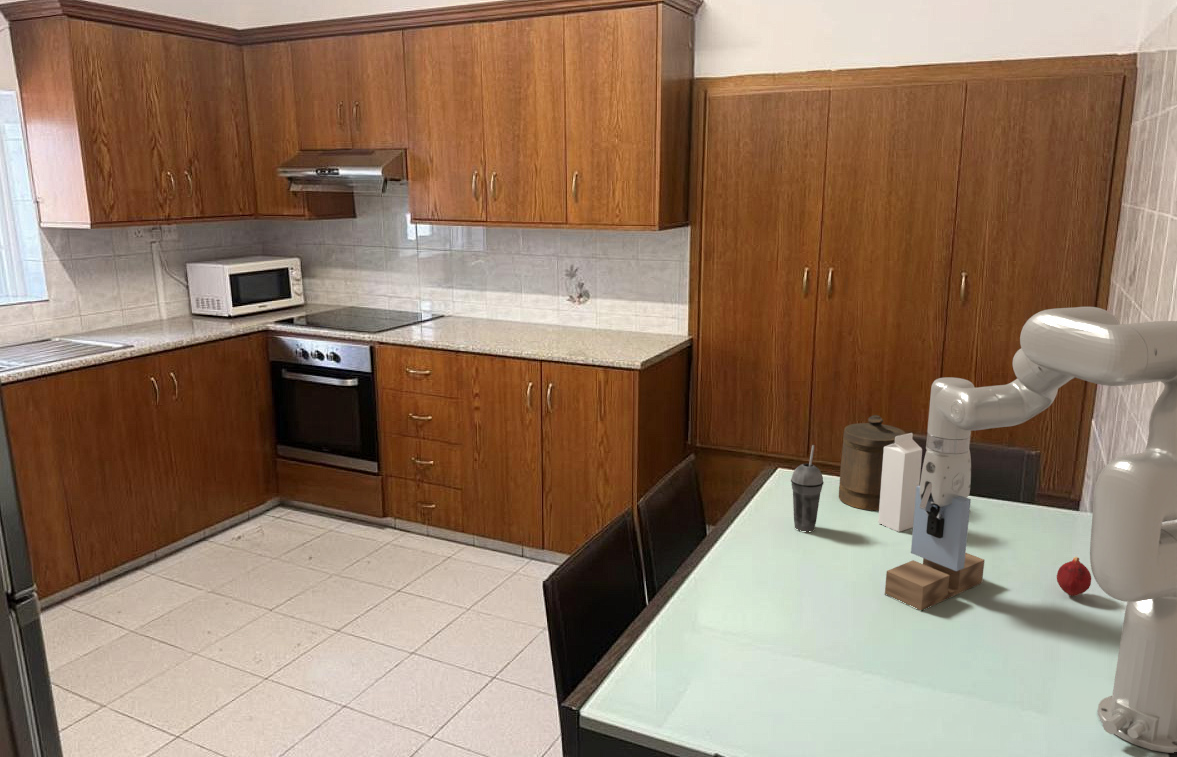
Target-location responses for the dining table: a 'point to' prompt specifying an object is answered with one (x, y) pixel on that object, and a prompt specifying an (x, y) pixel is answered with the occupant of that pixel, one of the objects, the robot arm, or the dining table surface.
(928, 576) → the slotted base
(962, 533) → the grey block
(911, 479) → the milk
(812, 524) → the beverage cup
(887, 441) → the wooden container
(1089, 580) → the red pomegranate
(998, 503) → the dining table surface
